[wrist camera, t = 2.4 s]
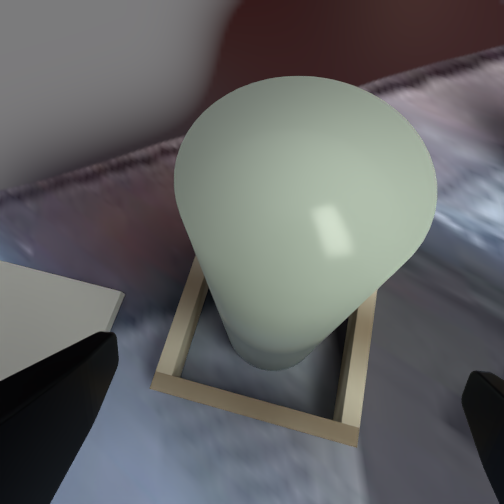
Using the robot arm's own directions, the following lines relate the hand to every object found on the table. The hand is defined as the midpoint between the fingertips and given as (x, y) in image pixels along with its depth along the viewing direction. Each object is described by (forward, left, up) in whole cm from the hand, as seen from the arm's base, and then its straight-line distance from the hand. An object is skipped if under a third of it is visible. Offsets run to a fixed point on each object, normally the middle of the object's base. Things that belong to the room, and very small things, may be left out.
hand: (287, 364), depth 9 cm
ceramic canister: (+3, +1, -10) cm, 11 cm away
